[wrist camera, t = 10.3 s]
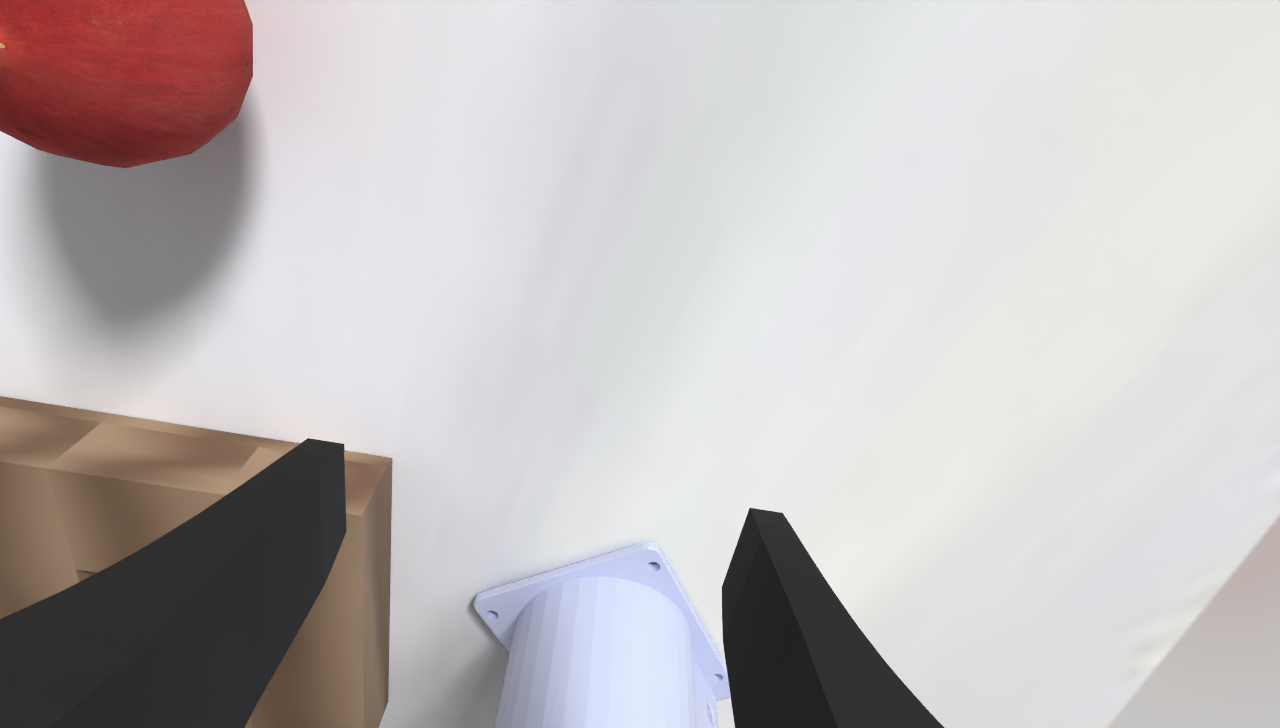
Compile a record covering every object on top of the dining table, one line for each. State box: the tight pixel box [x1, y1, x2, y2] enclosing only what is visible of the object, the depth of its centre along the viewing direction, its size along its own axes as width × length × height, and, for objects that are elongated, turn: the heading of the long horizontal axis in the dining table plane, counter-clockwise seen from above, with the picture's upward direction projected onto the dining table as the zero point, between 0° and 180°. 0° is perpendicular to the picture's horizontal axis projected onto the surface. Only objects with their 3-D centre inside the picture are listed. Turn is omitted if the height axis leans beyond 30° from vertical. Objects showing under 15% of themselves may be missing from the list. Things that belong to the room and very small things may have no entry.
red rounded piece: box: [0, 0, 253, 168], centre depth 14 cm, size 6×6×8 cm
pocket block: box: [0, 397, 392, 728], centre depth 27 cm, size 14×14×3 cm
